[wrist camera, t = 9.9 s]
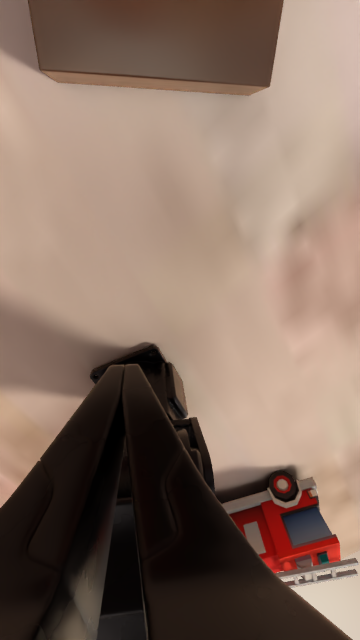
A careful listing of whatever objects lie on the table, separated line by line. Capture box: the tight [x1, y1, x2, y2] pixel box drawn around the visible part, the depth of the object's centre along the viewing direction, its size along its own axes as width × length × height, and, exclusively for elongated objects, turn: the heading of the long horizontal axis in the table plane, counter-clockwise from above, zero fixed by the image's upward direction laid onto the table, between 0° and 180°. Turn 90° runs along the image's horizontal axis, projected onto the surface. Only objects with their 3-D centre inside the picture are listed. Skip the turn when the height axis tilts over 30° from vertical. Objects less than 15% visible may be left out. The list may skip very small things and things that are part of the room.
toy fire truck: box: [220, 471, 358, 588], centre depth 36 cm, size 9×19×10 cm, turn 108°
